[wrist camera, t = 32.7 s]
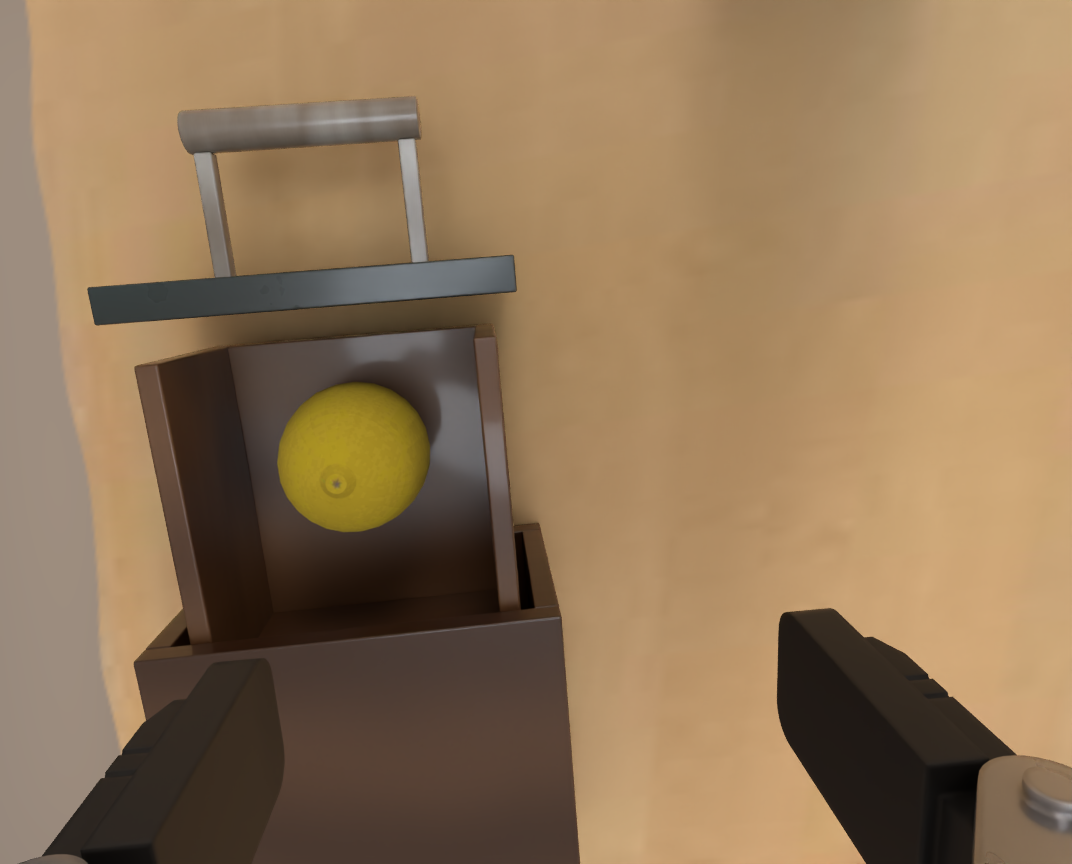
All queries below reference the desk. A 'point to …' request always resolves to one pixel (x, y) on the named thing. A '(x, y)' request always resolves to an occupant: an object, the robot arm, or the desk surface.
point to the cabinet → (411, 732)
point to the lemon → (353, 457)
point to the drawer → (296, 375)
